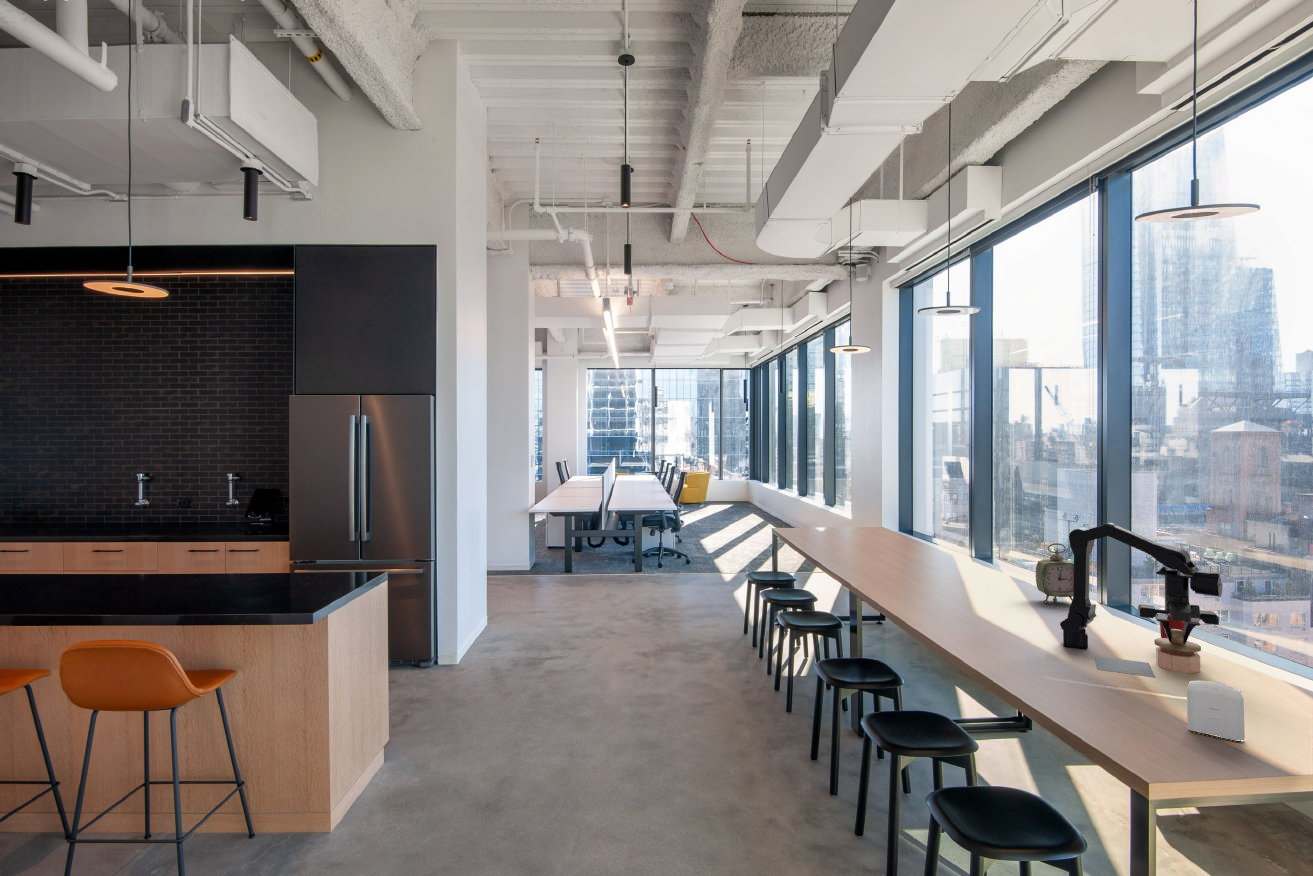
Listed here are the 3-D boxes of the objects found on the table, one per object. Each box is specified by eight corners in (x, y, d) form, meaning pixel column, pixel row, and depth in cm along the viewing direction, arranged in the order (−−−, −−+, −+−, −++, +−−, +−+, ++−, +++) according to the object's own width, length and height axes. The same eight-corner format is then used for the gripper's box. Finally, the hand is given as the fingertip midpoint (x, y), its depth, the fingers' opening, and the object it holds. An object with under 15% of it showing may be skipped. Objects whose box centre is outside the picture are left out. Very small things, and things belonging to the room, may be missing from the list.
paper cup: (1194, 658, 208) (1193, 613, 208) (1166, 657, 210) (1165, 612, 210) (1179, 650, 216) (1179, 607, 216) (1153, 649, 217) (1152, 606, 217)
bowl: (1159, 671, 198) (1159, 654, 198) (1154, 661, 206) (1154, 644, 206) (1202, 676, 192) (1202, 659, 192) (1195, 666, 201) (1195, 649, 201)
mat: (1097, 671, 198) (1097, 669, 198) (1094, 657, 210) (1094, 655, 210) (1155, 679, 191) (1155, 677, 191) (1148, 664, 203) (1148, 662, 203)
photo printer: (1186, 732, 157) (1185, 679, 157) (1188, 726, 160) (1187, 675, 160) (1244, 745, 150) (1243, 690, 150) (1245, 739, 153) (1244, 685, 153)
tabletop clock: (1042, 605, 275) (1042, 544, 275) (1034, 599, 284) (1033, 541, 284) (1080, 606, 273) (1080, 545, 273) (1070, 600, 282) (1070, 541, 282)
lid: (1157, 648, 197) (1157, 632, 197) (1151, 638, 207) (1151, 623, 207) (1204, 654, 192) (1204, 637, 192) (1196, 644, 201) (1196, 628, 201)
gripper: (1141, 593, 197) (1142, 645, 197) (1223, 600, 188) (1223, 655, 188) (1137, 585, 207) (1137, 635, 207) (1214, 592, 197) (1214, 644, 197)
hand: (1177, 642), depth 199 cm, fingers closed on lid, 3 cm apart
